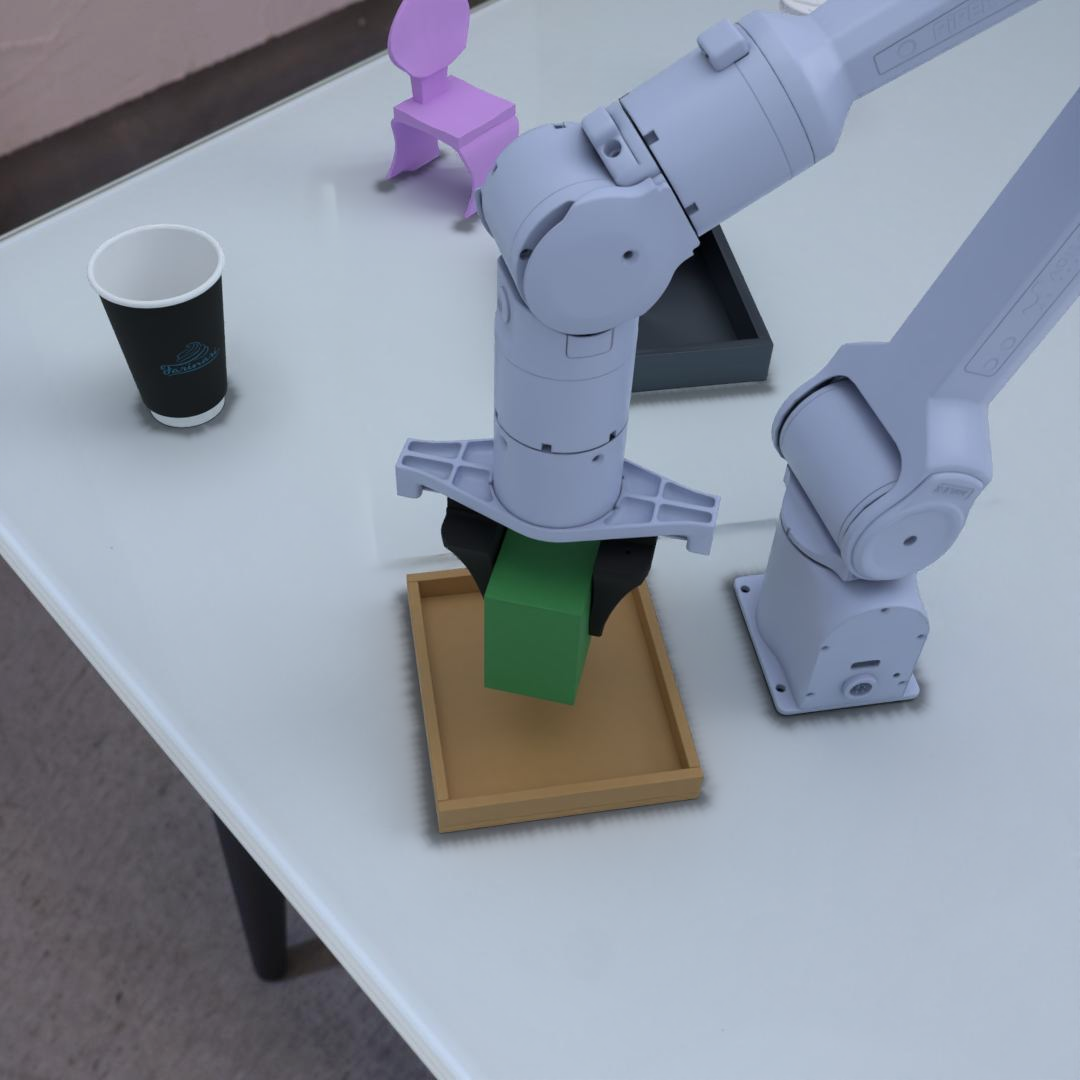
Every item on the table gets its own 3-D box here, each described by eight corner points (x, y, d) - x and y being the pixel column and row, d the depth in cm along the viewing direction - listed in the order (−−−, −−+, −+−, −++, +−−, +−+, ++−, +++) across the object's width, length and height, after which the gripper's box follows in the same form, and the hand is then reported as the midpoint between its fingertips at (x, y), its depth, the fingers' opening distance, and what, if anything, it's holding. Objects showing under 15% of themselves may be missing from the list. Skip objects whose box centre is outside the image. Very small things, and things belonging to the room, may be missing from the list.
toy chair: (459, 236, 98) (456, 46, 87) (373, 191, 102) (360, 3, 90) (529, 189, 103) (535, 2, 91) (445, 148, 106) (441, -36, 95)
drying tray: (698, 798, 66) (703, 776, 65) (439, 833, 65) (438, 811, 63) (634, 572, 76) (637, 548, 75) (407, 598, 75) (406, 573, 73)
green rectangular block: (605, 584, 69) (615, 491, 64) (573, 706, 64) (581, 616, 58) (522, 568, 69) (525, 474, 64) (483, 687, 64) (483, 596, 59)
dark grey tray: (764, 388, 88) (774, 344, 85) (564, 407, 86) (567, 362, 83) (706, 251, 98) (712, 207, 95) (526, 264, 96) (527, 220, 93)
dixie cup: (165, 350, 88) (132, 210, 80) (271, 379, 87) (248, 239, 78) (100, 425, 83) (58, 284, 75) (211, 457, 82) (180, 317, 73)
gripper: (744, 377, 57) (704, 579, 67) (423, 320, 59) (431, 526, 69) (722, 489, 52) (683, 689, 62) (374, 424, 54) (391, 628, 64)
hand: (549, 610), depth 65 cm, fingers closed on green rectangular block, 4 cm apart
